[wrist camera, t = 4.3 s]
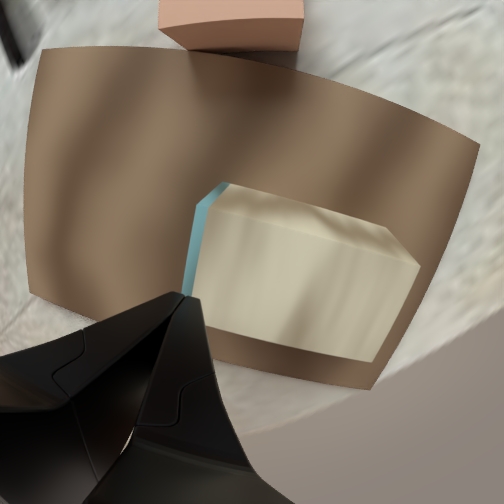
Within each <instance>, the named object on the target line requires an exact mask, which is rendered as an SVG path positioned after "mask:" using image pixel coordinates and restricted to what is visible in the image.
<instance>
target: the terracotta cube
mask: <svg viewBox="0 0 504 504" xmlns="http://www.w3.org/2000/svg"><path fill="white" fill-rule="evenodd" d="M303 22H304V5H303V0H159V16H158V29H159V30H160V31H162V32H163V33H164V34H166V35H167V36H169V37H170V38H172V39H173V40H174V41H176V42H177V43H178V44H180V45H181V46H183V47H184V48H185V49H187V50H188V51H195V52H203V53H210V54H214V53H227V52H246V51H298V49H299V44H300V38H301V33H302V28H303Z"/></svg>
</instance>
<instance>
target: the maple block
mask: <svg viewBox="0 0 504 504" xmlns="http://www.w3.org/2000/svg"><path fill="white" fill-rule="evenodd" d="M420 267H421V266H420V265H419V264H418V263H417V262H416V260H415V259H414V258H413V257H412V256H411V255H410V253H409V252H408V251H407V250H406V249H405V248H404V247H403V246H402V244H401V243H400V242H399V241H398V240H397V239H396V238H395V237H394V236H393V234H392V233H391V232H390V231H389V230H388V229H387V228H386V227H383V226H380V225H377V224H373V223H370V222H367V221H364V220H361V219H357V218H354V217H351V216H347V215H344V214H341V213H337V212H334V211H331V210H327V209H324V208H320V207H317V206H313V205H310V204H306V203H303V202H299V201H296V200H292V199H288V198H285V197H281V196H277V195H273V194H270V193H266V192H262V191H258V190H254V189H250V188H246V187H242V186H238V185H234V184H230V183H226V182H221V183H220V184H219V185H218V186H217V187H216V188H215V189H213V190H212V191H211V192H210V193H209V194H208V195H207V196H206V197H205V198H203V199H202V200H201V201H200V202H199V203H198V204H197V205H196V210H195V216H194V221H193V226H192V232H191V238H190V243H189V249H188V255H187V261H186V267H185V273H184V279H183V286H182V292H181V293H182V294H184V295H185V297H186V296H187V295H189V296H192V297H196V298H199V299H200V300H201V305H202V310H203V315H204V321H205V325H206V326H210V327H214V328H217V329H221V330H225V331H228V332H232V333H236V334H240V335H244V336H248V337H252V338H256V339H260V340H264V341H268V342H273V343H277V344H281V345H285V346H290V347H294V348H299V349H304V350H308V351H313V352H318V353H323V354H328V355H333V356H338V357H343V358H348V359H354V360H359V361H365V362H371V363H372V361H373V360H374V358H375V356H376V354H377V353H378V351H379V349H380V347H381V346H382V344H383V342H384V340H385V338H386V336H387V335H388V333H389V331H390V329H391V327H392V325H393V323H394V321H395V319H396V318H397V316H398V314H399V312H400V310H401V308H402V306H403V304H404V302H405V300H406V297H407V295H408V293H409V291H410V289H411V287H412V285H413V283H414V280H415V278H416V276H417V274H418V272H419V269H420Z"/></svg>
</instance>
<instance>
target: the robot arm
mask: <svg viewBox="0 0 504 504" xmlns="http://www.w3.org/2000/svg"><path fill="white" fill-rule="evenodd" d="M134 426H135V427H134ZM133 428H134V430H133ZM132 430H133V433H132V435H131V438H130V440H129V443H128V445H127V446H126V448H125V449H124V450H123V448H124V446H125V444H126V442H127V440H128V438H129V436H130V434H131V432H132ZM122 450H123V452H122V453H121V451H122ZM0 504H295V503H293V502H292V501H290V500H289V499H288V498H286V497H285V496H283V495H282V494H281V493H279V492H278V491H277V490H275V489H274V488H273V487H271V486H270V485H269V484H267V483H266V482H265V481H264V480H262V479H261V477H260V476H259V475H258V474H257V473H256V472H255V470H254V469H253V467H252V466H251V464H250V462H249V460H248V458H247V456H246V454H245V452H244V450H243V448H242V446H241V443H240V441H239V439H238V437H237V435H236V433H235V430H234V428H233V426H232V424H231V421H230V419H229V417H228V414H227V412H226V409H225V406H224V404H223V401H222V398H221V394H220V391H219V387H218V383H217V378H216V375H215V370H214V365H213V360H212V356H211V351H210V346H209V341H208V336H207V331H206V326H205V321H204V315H203V310H202V305H201V300H200V299H199V298H196V297H192V296H189V295H187V296H186V297H185V295H184V294H182V293H178V292H175V291H170V292H168V293H165V294H163V295H161V296H158V297H156V298H154V299H151V300H149V301H147V302H144V303H142V304H140V305H137V306H135V307H133V308H130V309H128V310H125V311H123V312H121V313H118V314H116V315H114V316H111V317H109V318H107V319H104V320H102V321H100V322H97V323H95V324H92V325H90V326H88V327H85V328H83V330H82V329H80V330H78V331H76V332H73V333H71V334H68V335H66V336H63V337H61V338H58V339H56V340H53V341H50V342H47V343H44V344H41V345H38V346H34V347H31V348H28V349H24V350H21V351H18V352H14V353H11V354H7V355H4V356H0Z"/></svg>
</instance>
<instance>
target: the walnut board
mask: <svg viewBox="0 0 504 504" xmlns="http://www.w3.org/2000/svg"><path fill="white" fill-rule="evenodd" d="M479 148H480V144H479V143H477V142H475V141H473V140H471V139H470V138H468V137H466V136H464V135H462V134H460V133H458V132H456V131H454V130H452V129H451V128H449V127H447V126H445V125H442V124H440V123H438V122H436V121H434V120H432V119H430V118H428V117H426V116H423V115H421V114H419V113H417V112H415V111H412V110H410V109H408V108H405V107H403V106H401V105H398V104H396V103H393V102H391V101H388V100H386V99H383V98H381V97H378V96H375V95H373V94H370V93H367V92H364V91H361V90H359V89H356V88H353V87H350V86H347V85H344V84H341V83H338V82H334V81H331V80H328V79H325V78H321V77H318V76H314V75H311V74H307V73H303V72H300V71H296V70H292V69H288V68H284V67H280V66H275V65H271V64H266V63H262V62H257V61H252V60H247V59H241V58H236V57H230V56H224V55H217V54H210V53H203V52H195V51H186V50H177V49H165V48H151V47H129V46H89V47H68V48H54V49H43V50H42V53H41V57H40V61H39V65H38V70H37V75H36V79H35V85H34V90H33V96H32V102H31V108H30V115H29V123H28V131H27V141H26V153H25V168H24V237H25V252H26V264H27V274H28V283H29V291H30V293H32V294H34V295H36V296H38V297H40V298H43V299H45V300H47V301H50V302H52V303H54V304H56V305H59V306H61V307H64V308H66V309H68V310H71V311H73V312H76V313H78V314H81V315H83V316H86V317H88V318H91V319H93V320H96V321H99V322H100V321H102V320H104V319H107V318H109V317H111V316H114V315H116V314H118V313H121V312H123V311H125V310H128V309H130V308H133V307H135V306H137V305H140V304H142V303H144V302H147V301H149V300H151V299H154V298H156V297H158V296H161V295H163V294H165V293H168V292H170V291H175V292H178V293H181V292H182V286H183V279H184V273H185V267H186V261H187V255H188V249H189V243H190V238H191V232H192V226H193V221H194V216H195V210H196V205H197V204H198V203H199V202H200V201H201V200H202V199H203V198H205V197H206V196H207V195H208V194H209V193H210V192H211V191H212V190H213V189H215V188H216V187H217V186H218V185H219V184H220V183H221V182H226V183H230V184H234V185H238V186H242V187H246V188H250V189H254V190H258V191H262V192H266V193H270V194H273V195H277V196H281V197H285V198H288V199H292V200H296V201H299V202H303V203H306V204H310V205H313V206H317V207H320V208H324V209H327V210H331V211H334V212H337V213H341V214H344V215H347V216H351V217H354V218H357V219H361V220H364V221H367V222H370V223H373V224H377V225H380V226H383V227H386V228H387V229H388V230H389V231H390V232H391V233H392V234H393V236H394V237H395V238H396V239H397V240H398V241H399V242H400V243H401V244H402V246H403V247H404V248H405V249H406V250H407V251H408V252H409V253H410V255H411V256H412V257H413V258H414V259H415V260H416V262H417V263H418V264H419V265H420V266H421V267H420V269H419V272H418V274H417V276H416V278H415V280H414V283H413V285H412V287H411V289H410V291H409V293H408V295H407V297H406V300H405V302H404V304H403V306H402V308H401V310H400V312H399V314H398V316H397V318H396V319H395V321H394V323H393V325H392V327H391V329H390V331H389V333H388V335H387V336H386V338H385V340H384V342H383V344H382V346H381V347H380V349H379V351H378V353H377V354H376V356H375V358H374V360H373V361H372V363H371V362H365V361H359V360H354V359H348V358H343V357H338V356H333V355H328V354H323V353H318V352H313V351H308V350H304V349H299V348H294V347H290V346H285V345H281V344H277V343H273V342H268V341H264V340H260V339H256V338H252V337H248V336H244V335H240V334H236V333H232V332H228V331H225V330H221V329H217V328H214V327H210V326H206V325H205V326H206V331H207V336H208V341H209V346H210V351H211V356H212V358H213V359H216V360H220V361H224V362H228V363H232V364H236V365H240V366H244V367H248V368H252V369H256V370H261V371H265V372H269V373H274V374H279V375H283V376H288V377H293V378H298V379H303V380H309V381H314V382H319V383H325V384H331V385H337V386H343V387H350V388H357V389H364V390H371V388H372V387H373V385H374V383H375V382H376V380H377V379H378V377H379V376H380V374H381V372H382V371H383V369H384V368H385V366H386V364H387V363H388V361H389V359H390V358H391V356H392V354H393V353H394V351H395V349H396V348H397V346H398V344H399V342H400V341H401V339H402V337H403V335H404V334H405V332H406V330H407V328H408V326H409V324H410V322H411V321H412V319H413V317H414V315H415V313H416V311H417V309H418V307H419V305H420V303H421V301H422V299H423V297H424V295H425V293H426V291H427V289H428V287H429V285H430V283H431V280H432V278H433V276H434V274H435V272H436V270H437V267H438V265H439V263H440V260H441V258H442V256H443V253H444V251H445V249H446V246H447V244H448V241H449V239H450V236H451V234H452V231H453V229H454V226H455V223H456V221H457V218H458V215H459V212H460V210H461V207H462V204H463V201H464V198H465V195H466V192H467V189H468V186H469V183H470V179H471V176H472V173H473V169H474V166H475V162H476V159H477V155H478V151H479Z"/></svg>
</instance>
